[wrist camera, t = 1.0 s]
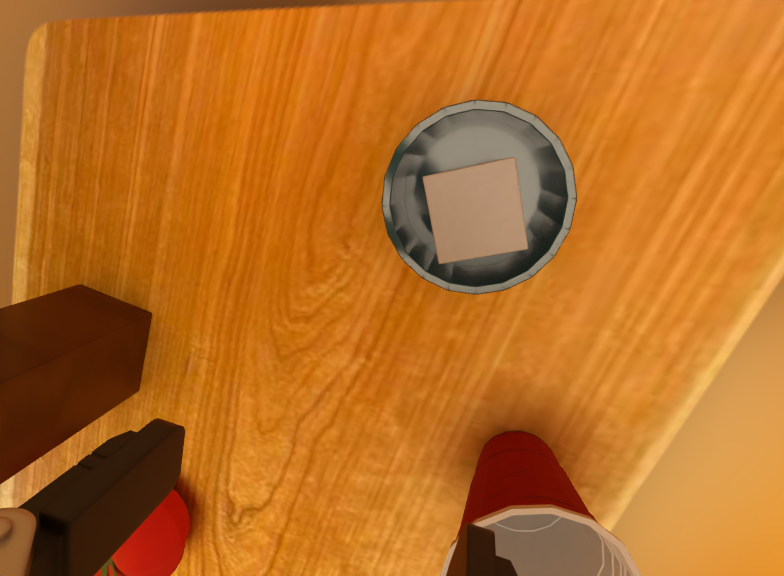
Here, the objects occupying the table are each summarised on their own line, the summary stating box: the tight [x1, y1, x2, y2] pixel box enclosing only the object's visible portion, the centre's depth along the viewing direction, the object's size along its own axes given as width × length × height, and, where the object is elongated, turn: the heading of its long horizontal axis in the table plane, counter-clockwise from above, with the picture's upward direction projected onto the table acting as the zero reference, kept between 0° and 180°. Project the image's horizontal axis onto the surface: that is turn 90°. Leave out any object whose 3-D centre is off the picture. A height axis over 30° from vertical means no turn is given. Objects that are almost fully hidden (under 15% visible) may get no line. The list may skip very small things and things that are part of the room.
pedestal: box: [0, 285, 152, 484], centre depth 31 cm, size 8×7×18 cm
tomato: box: [94, 489, 191, 576], centre depth 40 cm, size 11×11×8 cm
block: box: [423, 157, 528, 264], centre depth 25 cm, size 4×4×11 cm
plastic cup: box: [440, 431, 642, 576], centre depth 30 cm, size 11×11×12 cm
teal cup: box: [382, 100, 577, 294], centre depth 28 cm, size 11×11×6 cm
